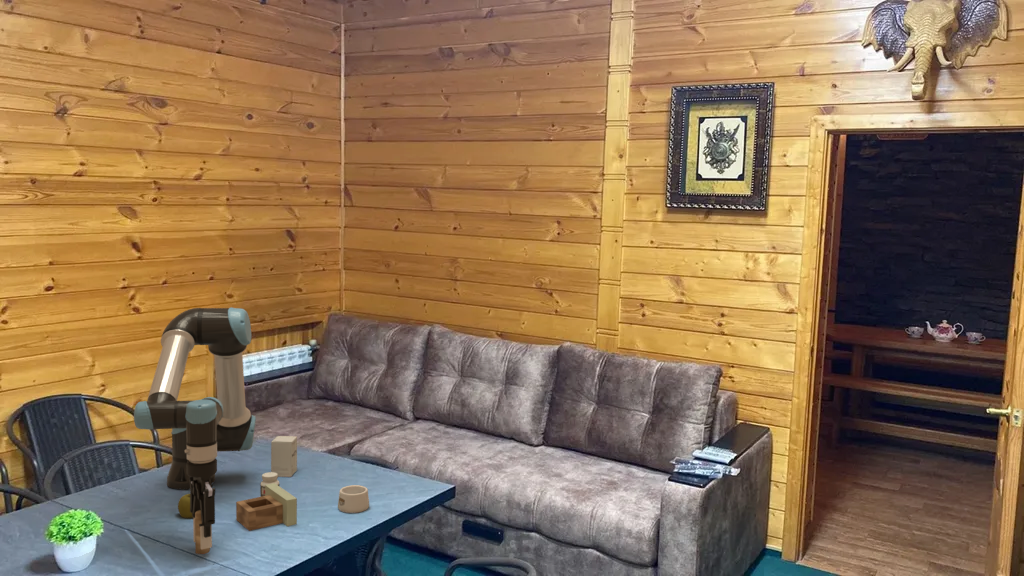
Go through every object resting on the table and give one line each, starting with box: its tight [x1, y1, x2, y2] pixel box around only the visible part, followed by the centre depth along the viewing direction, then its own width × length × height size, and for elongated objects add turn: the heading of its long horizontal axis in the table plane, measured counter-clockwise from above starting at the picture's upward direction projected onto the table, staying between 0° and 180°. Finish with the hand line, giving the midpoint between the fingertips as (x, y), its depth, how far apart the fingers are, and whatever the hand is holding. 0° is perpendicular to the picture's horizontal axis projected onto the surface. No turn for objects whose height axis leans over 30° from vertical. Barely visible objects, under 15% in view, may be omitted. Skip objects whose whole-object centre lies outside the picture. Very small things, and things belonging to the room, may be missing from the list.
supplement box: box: [270, 435, 298, 478], centre depth 280 cm, size 7×7×13 cm
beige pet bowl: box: [337, 484, 370, 514], centre depth 250 cm, size 12×10×6 cm
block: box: [235, 495, 283, 532], centre depth 233 cm, size 10×10×6 cm
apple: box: [177, 493, 194, 519], centre depth 238 cm, size 8×8×7 cm
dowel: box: [194, 510, 211, 555], centre depth 212 cm, size 4×4×12 cm
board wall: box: [265, 483, 298, 527], centre depth 230 cm, size 16×28×9 cm, turn 129°
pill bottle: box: [259, 471, 280, 497], centre depth 250 cm, size 6×6×10 cm
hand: (202, 544), depth 212 cm, fingers open, 5 cm apart
